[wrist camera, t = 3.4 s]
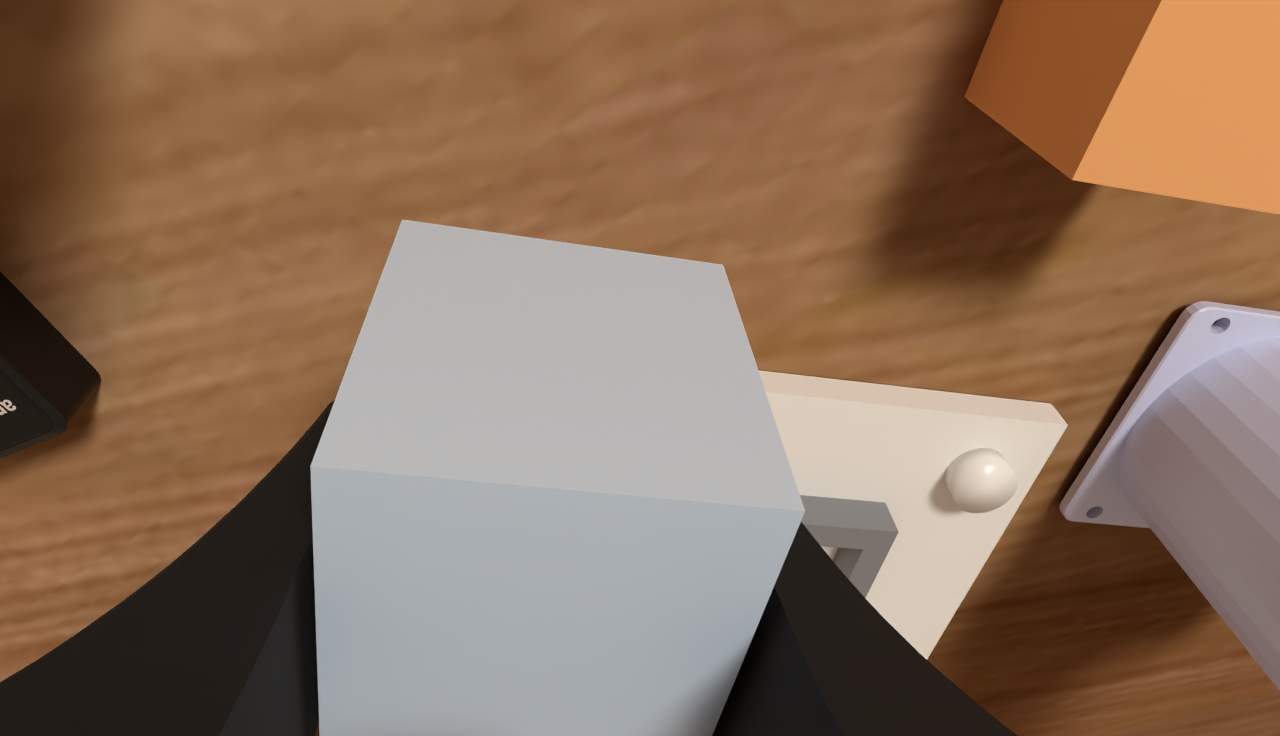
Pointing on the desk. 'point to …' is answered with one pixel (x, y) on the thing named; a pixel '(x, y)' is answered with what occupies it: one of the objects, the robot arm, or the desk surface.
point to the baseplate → (909, 485)
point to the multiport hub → (37, 375)
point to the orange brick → (1143, 93)
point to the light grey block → (543, 495)
